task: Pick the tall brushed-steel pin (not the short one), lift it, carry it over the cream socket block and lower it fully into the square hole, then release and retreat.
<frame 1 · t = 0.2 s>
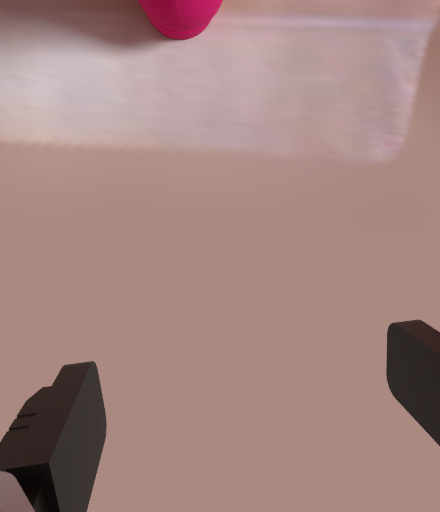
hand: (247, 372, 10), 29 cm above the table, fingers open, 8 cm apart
pepper mill: (179, 1, 34), on the table
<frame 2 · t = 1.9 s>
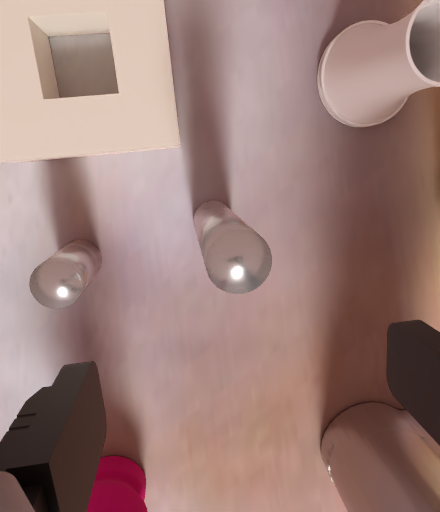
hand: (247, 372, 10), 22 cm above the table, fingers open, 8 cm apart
short pin: (81, 259, 32), on the table
tall pin: (212, 220, 32), on the table
pepper mill: (113, 481, 37), on the table
socket block: (88, 70, 28), on the table
vase: (361, 78, 31), on the table
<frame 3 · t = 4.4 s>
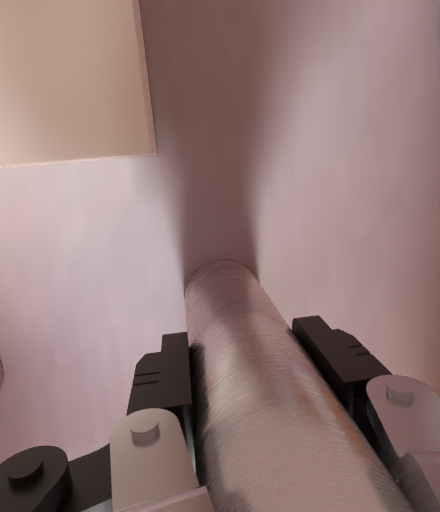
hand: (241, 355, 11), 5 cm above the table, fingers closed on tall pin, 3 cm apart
tall pin: (222, 296, 16), on the table, touching gripper
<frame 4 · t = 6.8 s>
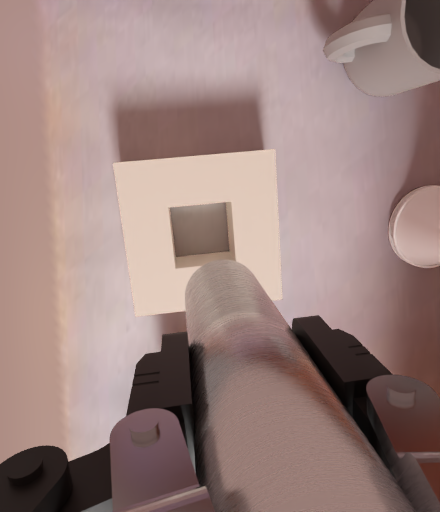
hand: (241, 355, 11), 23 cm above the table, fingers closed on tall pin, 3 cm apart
tall pin: (222, 296, 16), point 18 cm above the table, touching gripper
cup: (364, 54, 32), on the table
socket block: (200, 227, 34), on the table
vase: (425, 225, 36), on the table
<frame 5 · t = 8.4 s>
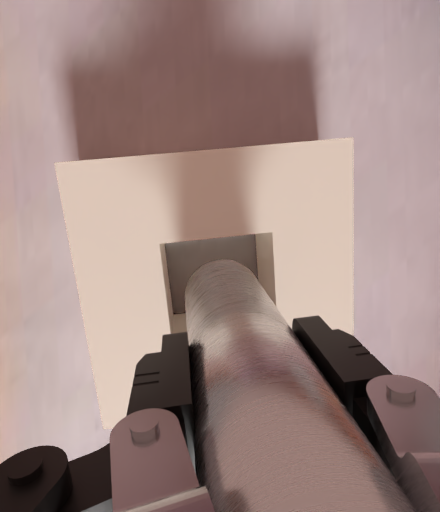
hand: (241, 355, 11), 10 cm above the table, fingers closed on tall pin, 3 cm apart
tall pin: (222, 295, 16), point 5 cm above the table, touching gripper
socket block: (212, 267, 21), on the table
when the fingers open (6 cm above the table, at t = 9.4 s): tall pin stays where it is, resting in socket block.
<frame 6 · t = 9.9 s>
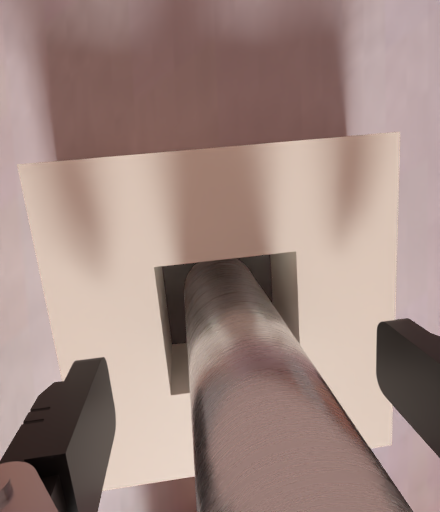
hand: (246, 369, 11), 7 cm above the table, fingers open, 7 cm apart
tall pin: (219, 289, 17), resting in socket block
socket block: (219, 289, 17), on the table
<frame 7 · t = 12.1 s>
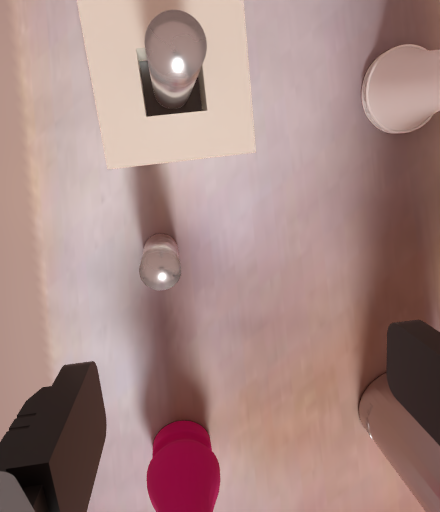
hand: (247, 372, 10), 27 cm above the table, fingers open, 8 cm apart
short pin: (161, 250, 37), on the table
tall pin: (171, 89, 33), resting in socket block
pepper mill: (181, 442, 43), on the table
socket block: (171, 89, 33), on the table
vase: (397, 91, 36), on the table
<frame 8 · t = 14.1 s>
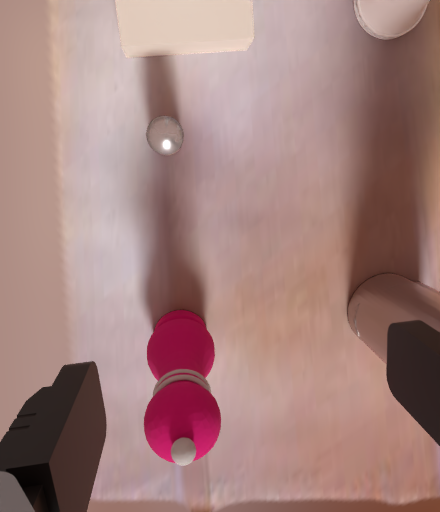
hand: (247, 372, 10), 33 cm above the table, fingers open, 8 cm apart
short pin: (166, 139, 40), on the table
pepper mill: (180, 333, 46), on the table
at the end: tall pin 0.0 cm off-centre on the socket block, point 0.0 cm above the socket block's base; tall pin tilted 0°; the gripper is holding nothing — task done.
